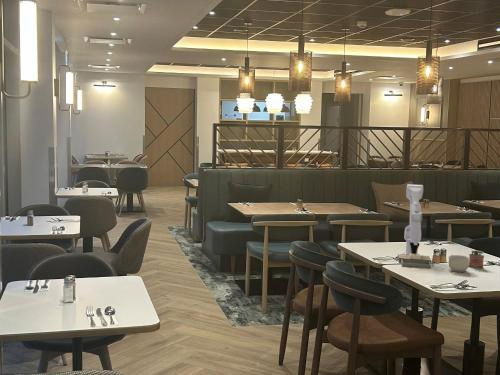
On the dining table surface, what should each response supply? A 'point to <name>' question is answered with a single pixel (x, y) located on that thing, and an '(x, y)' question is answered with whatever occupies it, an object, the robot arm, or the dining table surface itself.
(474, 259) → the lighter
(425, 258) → the board
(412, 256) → the tile
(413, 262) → the tray
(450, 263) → the teacup
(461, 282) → the dining table surface
